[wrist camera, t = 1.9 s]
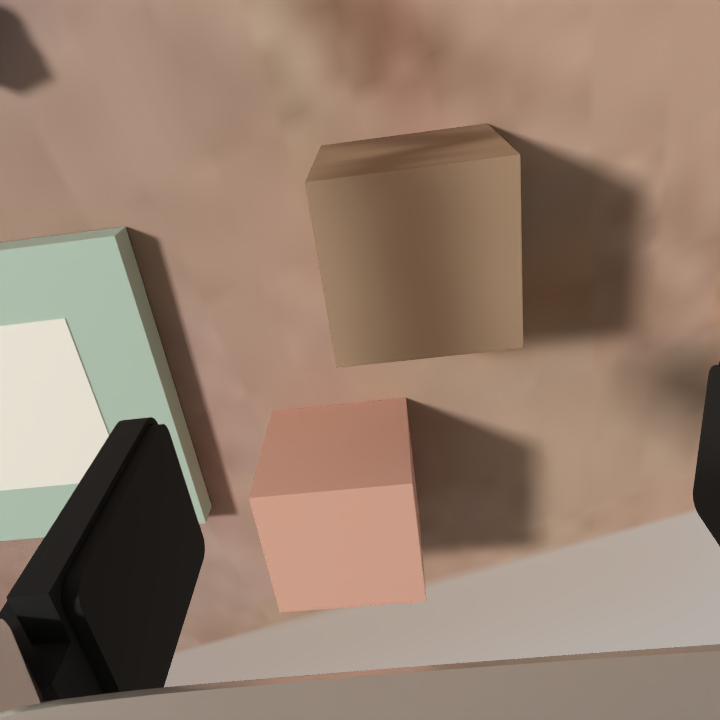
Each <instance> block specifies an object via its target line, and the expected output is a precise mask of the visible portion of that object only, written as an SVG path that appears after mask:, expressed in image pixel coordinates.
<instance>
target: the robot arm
mask: <svg viewBox="0 0 720 720" xmlns="http://www.w3.org/2000/svg"><path fill="white" fill-rule="evenodd" d="M693 500H694V505H695V508H696V510H697V512H698V514H699V516H700V517H701V519H702V520H703V522H704V523H705V525H706V526H707V528H708V529H709V531H710V532H711V534H712V535H713V537H714V538H715V540H716V541H717V543H718V544H719V546H720V362H719V365H714V366H712V367H711V369H710V371H709V376H708V383H707V391H706V398H705V406H704V413H703V421H702V428H701V436H700V443H699V451H698V458H697V466H696V473H695V480H694V488H693ZM204 552H205V545H204V538H203V535H202V532H201V528H200V525H199V522H198V519H197V516H196V513H195V510H194V507H193V504H192V500H191V497H190V494H189V491H188V488H187V485H186V482H185V479H184V476H183V473H182V469H181V466H180V463H179V460H178V457H177V454H176V451H175V448H174V445H173V441H172V438H171V435H170V432H169V430H168V428H167V426H166V425H165V424H158V423H157V421H156V420H155V419H154V418H152V417H148V418H139V419H130V420H122V421H119V422H118V423H117V424H116V426H115V427H114V429H113V430H112V432H111V434H110V435H109V437H108V438H107V440H106V441H105V443H104V445H103V446H102V448H101V449H100V451H99V452H98V454H97V456H96V457H95V459H94V460H93V462H92V463H91V465H90V467H89V468H88V470H87V471H86V473H85V474H84V476H83V478H82V479H81V481H80V482H79V484H78V486H77V487H76V489H75V490H74V492H73V493H72V495H71V497H70V498H69V500H68V501H67V503H66V504H65V506H64V508H63V509H62V511H61V512H60V514H59V515H58V517H57V519H56V520H55V522H54V523H53V525H52V527H51V528H50V530H49V531H48V533H47V534H46V536H45V538H44V539H43V541H42V542H41V544H40V545H39V547H38V549H37V550H36V552H35V553H34V555H33V556H32V558H31V560H30V561H29V563H28V564H27V566H26V567H25V569H24V571H23V572H22V574H21V575H20V577H19V579H18V580H17V582H16V583H15V585H14V586H13V588H12V590H11V591H10V593H9V594H8V596H7V597H6V598H7V602H6V604H5V605H4V607H3V608H2V610H1V612H0V720H720V644H717V645H703V646H689V647H674V648H660V649H646V650H631V651H618V652H603V653H590V654H575V655H562V656H549V657H536V658H522V659H509V660H496V661H482V662H469V663H457V664H443V665H430V666H418V667H404V668H391V669H380V670H379V669H378V670H366V671H354V672H342V673H329V674H318V675H306V676H293V677H281V678H268V679H256V680H244V681H232V682H220V683H208V684H197V685H186V686H175V687H165V688H164V684H165V681H166V678H167V675H168V671H169V668H170V665H171V662H172V659H173V655H174V652H175V649H176V646H177V643H178V639H179V636H180V633H181V630H182V626H183V623H184V620H185V617H186V614H187V610H188V607H189V604H190V601H191V598H192V594H193V591H194V588H195V585H196V582H197V578H198V575H199V572H200V569H201V565H202V562H203V559H204Z"/></svg>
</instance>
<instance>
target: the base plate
mask: <svg viewBox="0 0 720 720" xmlns="http://www.w3.org/2000/svg"><path fill="white" fill-rule="evenodd" d="M148 417H152V418H154V419H155V420H156V421H157V423H158V424H165V425H166V426H167V428H168V430H169V432H170V435H171V438H172V441H173V445H174V448H175V451H176V454H177V457H178V460H179V463H180V466H181V469H182V473H183V476H184V479H185V482H186V485H187V488H188V491H189V494H190V497H191V500H192V504H193V507H194V510H195V513H196V516H197V519H198V522H199V524H201V523H206V521H207V518H208V515H209V512H210V509H211V507H212V506H211V502H210V499H209V496H208V493H207V489H206V486H205V483H204V480H203V476H202V473H201V470H200V467H199V463H198V460H197V457H196V454H195V450H194V447H193V444H192V441H191V437H190V434H189V431H188V428H187V424H186V421H185V418H184V415H183V411H182V408H181V405H180V402H179V398H178V395H177V392H176V389H175V385H174V382H173V379H172V376H171V372H170V369H169V366H168V363H167V359H166V356H165V353H164V350H163V346H162V343H161V340H160V337H159V333H158V330H157V327H156V324H155V320H154V317H153V314H152V311H151V307H150V304H149V301H148V298H147V294H146V291H145V288H144V285H143V281H142V278H141V275H140V272H139V268H138V265H137V262H136V259H135V255H134V252H133V249H132V246H131V242H130V239H129V236H128V233H127V229H126V227H119V228H112V229H104V230H96V231H88V232H80V233H72V234H65V235H57V236H49V237H41V238H33V239H25V240H18V241H10V242H2V243H0V541H6V540H17V539H29V538H40V537H45V536H46V534H47V533H48V531H49V530H50V528H51V527H52V525H53V523H54V522H55V520H56V519H57V517H58V515H59V514H60V512H61V511H62V509H63V508H64V506H65V504H66V503H67V501H68V500H69V498H70V497H71V495H72V493H73V492H74V490H75V489H76V487H77V486H78V484H79V482H80V481H81V479H82V478H83V476H84V474H85V473H86V471H87V470H88V468H89V467H90V465H91V463H92V462H93V460H94V459H95V457H96V456H97V454H98V452H99V451H100V449H101V448H102V446H103V445H104V443H105V441H106V440H107V438H108V437H109V435H110V434H111V432H112V430H113V429H114V427H115V426H116V424H117V423H118V422H119V421H122V420H130V419H139V418H148Z"/></svg>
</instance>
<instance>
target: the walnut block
mask: <svg viewBox="0 0 720 720" xmlns="http://www.w3.org/2000/svg"><path fill="white" fill-rule="evenodd" d="M305 184H306V190H307V196H308V202H309V208H310V214H311V220H312V225H313V231H314V237H315V243H316V249H317V255H318V261H319V267H320V273H321V279H322V285H323V290H324V296H325V302H326V308H327V314H328V320H329V326H330V332H331V338H332V344H333V350H334V355H335V361H336V367H337V368H338V367H348V366H357V365H367V364H376V363H386V362H395V361H405V360H414V359H424V358H433V357H443V356H452V355H462V354H471V353H481V352H490V351H500V350H509V349H519V348H523V300H522V234H521V168H520V154H519V153H518V152H517V151H516V150H515V149H514V148H513V147H512V146H511V145H510V144H509V143H508V142H507V141H506V140H504V139H503V138H502V137H501V136H500V135H499V134H498V133H497V132H496V131H495V130H494V129H493V128H492V127H491V126H490V125H488V124H480V125H472V126H465V127H457V128H450V129H442V130H435V131H427V132H420V133H412V134H405V135H397V136H390V137H382V138H375V139H367V140H360V141H352V142H345V143H337V144H330V145H323V146H321V147H320V149H319V152H318V154H317V156H316V159H315V161H314V163H313V166H312V168H311V170H310V172H309V175H308V177H307V179H306V182H305Z"/></svg>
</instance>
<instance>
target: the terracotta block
mask: <svg viewBox="0 0 720 720" xmlns="http://www.w3.org/2000/svg"><path fill="white" fill-rule="evenodd" d="M249 501H250V504H251V508H252V512H253V516H254V519H255V523H256V527H257V530H258V534H259V538H260V541H261V545H262V549H263V552H264V556H265V560H266V563H267V567H268V571H269V574H270V578H271V582H272V585H273V589H274V593H275V596H276V600H277V604H278V607H279V611H280V612H291V611H304V610H318V609H331V608H344V607H358V606H371V605H384V604H398V603H411V602H425V601H426V592H425V579H424V567H423V555H422V543H421V531H420V520H419V508H418V498H417V489H416V481H415V472H414V464H413V455H412V446H411V438H410V429H409V421H408V412H407V403H406V398H397V399H387V400H377V401H368V402H358V403H348V404H338V405H328V406H318V407H308V408H298V409H289V410H279V411H272V414H271V417H270V421H269V425H268V429H267V432H266V436H265V440H264V443H263V447H262V451H261V455H260V458H259V462H258V466H257V469H256V473H255V477H254V481H253V484H252V488H251V492H250V495H249Z"/></svg>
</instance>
